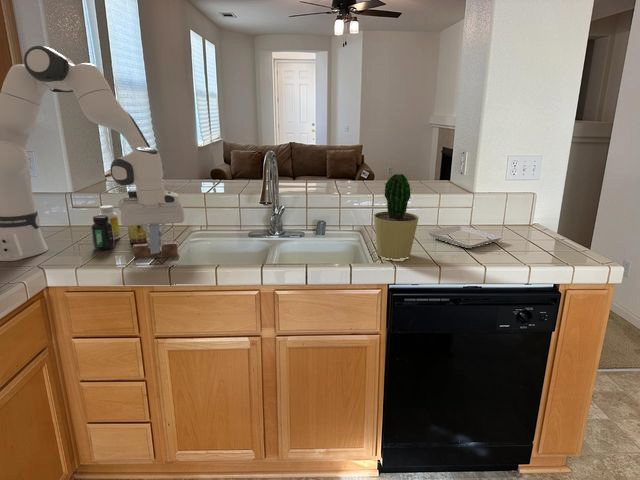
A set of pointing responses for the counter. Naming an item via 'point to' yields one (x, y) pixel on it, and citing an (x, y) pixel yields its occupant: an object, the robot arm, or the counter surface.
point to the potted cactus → (395, 221)
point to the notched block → (144, 252)
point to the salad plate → (444, 231)
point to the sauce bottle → (136, 226)
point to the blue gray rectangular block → (155, 238)
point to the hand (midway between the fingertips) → (155, 236)
